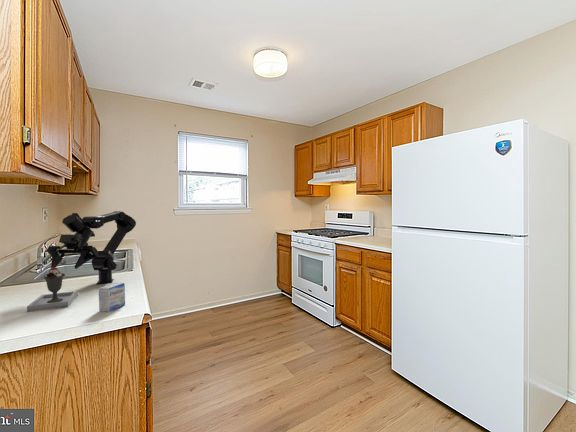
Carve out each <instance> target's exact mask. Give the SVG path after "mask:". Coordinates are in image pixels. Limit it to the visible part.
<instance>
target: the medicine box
mask: <svg viewBox="0 0 576 432" xmlns="http://www.w3.org/2000/svg"><path fill="white" fill-rule="evenodd" d="M125 286H126V284H125V282H114V283H113V282H112V283H109V284H107V285H105V286H102V287H99V288H98V310H99V312H106V313H107V312H108V313H110V312H112V311H114V310H116V309H118V308H122V307H123V306H125V305H126V293H125V292H126V287H125Z"/></svg>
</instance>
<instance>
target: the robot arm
mask: <svg viewBox="0 0 576 432" xmlns="http://www.w3.org/2000/svg"><path fill="white" fill-rule="evenodd" d="M113 221H114V223H115V224H116V231H115V232H114V234H113V235H112V236H111V238H110V240H108V242H107V244H106V246H105V247H104V248H103V250H98V249H97V248H96V247H95V245H89V244H88V242H89V240H90V238H92V237H96V234H95V232H94V230H93V229H95V230H97V229H100V228H103V226H104V225H105V224H107V223H110V222H113ZM61 222H62V224H63V225H64V226H65V227H66V228H67V229H68V230H69V231H70V232H71V233H74V234H67V233H65V234H60V237H59V240H58V242H59V243H60V244H61V243H62V244H63V247H65V248H62V246H60V245H50V246H48V247H47V248H46V250H45V251H46V253H48V254H49V255H50V256H51V264H50V269H51V268H52V267H53V266H54V268H56V267H57V266H58V265H59V264H60V263H61V262H62V260H63V258H64V257H65V255H69V254H72V255H79V257H78V259H77V261H76V262H75V265H74V269H75V270H77V269H79V268H80V267H81V266H82V265H84V264H86V263H87V262H89V261H91V265H92V268H93V271H97V273H98V281H97V282H96V284H97V285H100V284H108V283H109V284H112V283H113V281H114V280H115V279H114V278H113V271H115V270H116V269H117V264H116V262H115V261H114V260H115V258H114V257H115V256H114V254H115V252H116V250H117V249H118V247H119V246H120V245H121V243H122V241H123V240H124V238H125V236H126V235H127V234H128V233H130V232H131V231H133V230H134V228H135V227H136V225H137V221H136V220H135V218H133V217H132V216H130V215H128V214H127V213H125V212H124V211H121V210H118V211H117V210H116V211H115V210H114V211H111V212H109V213H104V214H101V215H98V216H96V215H95V216H94V215H93V216H92V215H91V216H90V215H88V216H83V217H81V216H80V215H79V213H78V212H72V213H71V214H68V215H67V216H66V217H64V218H62V221H61ZM54 263H55V265H56V267H55V265H54Z"/></svg>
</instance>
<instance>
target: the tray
mask: <svg viewBox="0 0 576 432" xmlns="http://www.w3.org/2000/svg"><path fill="white" fill-rule="evenodd" d="M57 297H58V298H61V299H63V300H62V301H60V302H55V303H47V301H49V300H51V299H52V298H53V293H46V294H41V295H40V296H38V297H37V298H36V299H34V300H33V301H32V302H30V303H29V304H28V305H27V306H26V313H29V312H36V311H45V310H52V309H60V308H62V309H63V308H69V306H70V305H72V303H73V302H74V300H75V299H76V298H77V297H78V290H76V291H75V290H74V291H65V292H57Z"/></svg>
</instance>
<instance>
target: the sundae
mask: <svg viewBox="0 0 576 432" xmlns="http://www.w3.org/2000/svg"><path fill="white" fill-rule="evenodd" d="M54 265H55V263H54ZM65 276H66V274H65V273H62V272H61V271H60V270H59V269H58V268H57V266H56V265H55V268H54V266H53V267H52V268H51V267H50V269H48V271H47V274H45V275H44V276H43V279H45V281H46V287H47V290H48V291H49V292H51V294H53V298H52V299H51V300H49V301H47V303H55V302H60V301H62V300H63V299H61V298H58V297H57V293H59V291H60V290H61V289H62V286H63V278H64V277H65Z"/></svg>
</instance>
